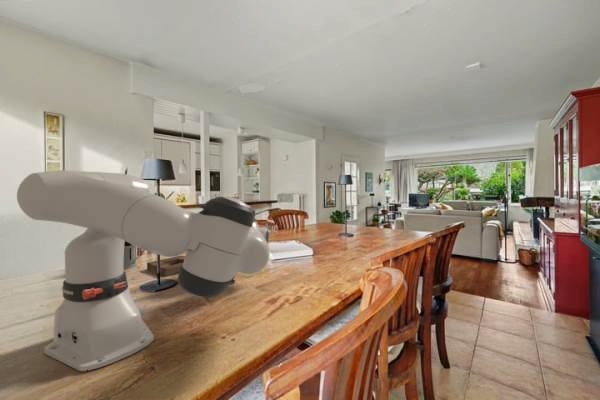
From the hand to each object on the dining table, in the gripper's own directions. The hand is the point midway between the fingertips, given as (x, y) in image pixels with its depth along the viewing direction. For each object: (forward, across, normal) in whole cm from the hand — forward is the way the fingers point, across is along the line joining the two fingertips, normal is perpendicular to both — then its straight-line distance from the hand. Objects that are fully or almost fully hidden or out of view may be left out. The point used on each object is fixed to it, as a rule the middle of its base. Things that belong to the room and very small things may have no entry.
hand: (198, 235), depth 110 cm
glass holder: (+35, +4, -16) cm, 39 cm away
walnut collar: (+14, +5, -16) cm, 22 cm away
